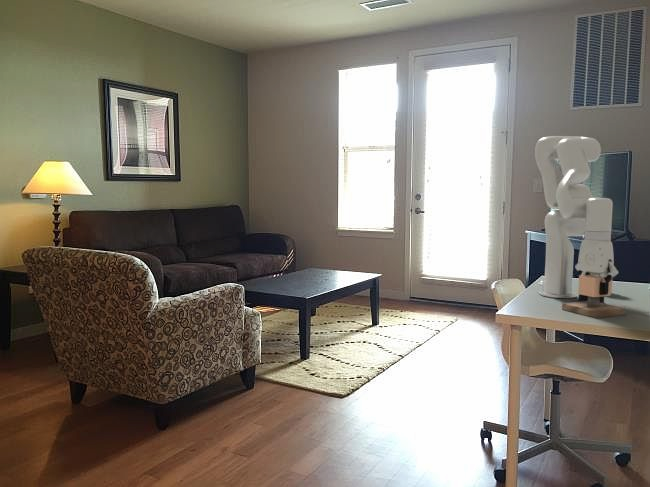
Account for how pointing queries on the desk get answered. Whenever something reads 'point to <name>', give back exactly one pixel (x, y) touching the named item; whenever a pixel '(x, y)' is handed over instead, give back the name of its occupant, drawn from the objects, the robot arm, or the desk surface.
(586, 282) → the light orange block
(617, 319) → the desk surface
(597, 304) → the stand
